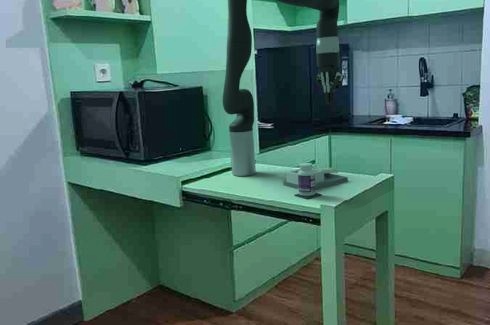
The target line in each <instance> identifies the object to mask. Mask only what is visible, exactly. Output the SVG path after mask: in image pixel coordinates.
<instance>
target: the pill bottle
mask: <svg viewBox="0 0 490 325" xmlns="http://www.w3.org/2000/svg"><path fill="white" fill-rule="evenodd" d="M298 167H299V169H301V170H300V171H299V172H298V188H299V189H298V194H299V195H301V196H312V195H314V194H315V193H317V190H316V186H315V172H314V171H313V170H312V169H313V167H314V166H313V163H310V162H308V163H307V162H304V163H299V165H298Z"/></svg>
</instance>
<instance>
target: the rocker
mask: <svg viewBox="0 0 490 325" xmlns="http://www.w3.org/2000/svg"><path fill="white" fill-rule="evenodd" d="M312 169H317V170H322V171H324V173H331V174H339V169H338V168H336V167H335V168H334V167H319V168H318V167H317V168H316V167H315V168H312Z"/></svg>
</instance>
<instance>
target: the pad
mask: <svg viewBox="0 0 490 325" xmlns="http://www.w3.org/2000/svg"><path fill="white" fill-rule="evenodd" d="M294 196H295V197H297V198H301V199H304V200H310V199H313V198H317V197H321V196H323V194H322V193H319V192H316V193H315V194H314V195H312V196H301V195H299V193H296V194H294Z"/></svg>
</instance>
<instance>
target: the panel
mask: <svg viewBox="0 0 490 325" xmlns="http://www.w3.org/2000/svg"><path fill="white" fill-rule="evenodd" d="M300 170H301V169H300V168H297V169H294V170H289V171H286V172H285V175H286V177H285V178H286V180H282V182H283V183H282V184H283V186H285V187H289V188H293V189H296V190H299V188H298V172H299V171H300ZM312 170H313V171H314V172H315V186H316V191H317V190H320V189H323V188H327V187H331V186H335V185H338V184H343V183H347V182H348V181H349V176H345V175H340V174H339V175H338V174H336V173H324V171H322V170H317V169H313V168H312Z"/></svg>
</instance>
